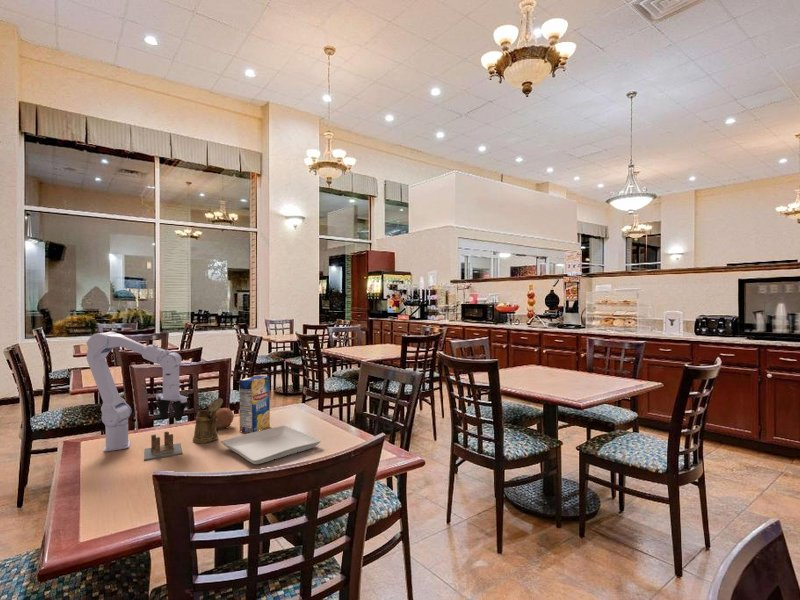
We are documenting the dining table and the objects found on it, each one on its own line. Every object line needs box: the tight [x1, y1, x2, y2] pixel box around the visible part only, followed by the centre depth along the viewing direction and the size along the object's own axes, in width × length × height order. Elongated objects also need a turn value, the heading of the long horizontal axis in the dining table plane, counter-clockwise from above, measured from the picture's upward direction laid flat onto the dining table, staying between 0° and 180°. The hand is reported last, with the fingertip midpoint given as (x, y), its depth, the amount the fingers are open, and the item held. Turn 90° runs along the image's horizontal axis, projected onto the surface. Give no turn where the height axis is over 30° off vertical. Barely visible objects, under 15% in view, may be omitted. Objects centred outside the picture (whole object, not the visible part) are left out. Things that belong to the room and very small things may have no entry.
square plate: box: [220, 425, 322, 465], centre depth 161 cm, size 27×27×4 cm
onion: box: [216, 407, 234, 430], centre depth 187 cm, size 10×9×10 cm
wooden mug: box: [192, 397, 224, 444], centre depth 170 cm, size 9×14×18 cm, turn 60°
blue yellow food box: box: [238, 375, 271, 434], centre depth 185 cm, size 7×11×22 cm, turn 157°
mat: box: [143, 442, 184, 461], centre depth 158 cm, size 12×12×1 cm
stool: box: [150, 431, 174, 455], centre depth 158 cm, size 6×6×6 cm
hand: (171, 419), depth 165 cm, fingers open, 7 cm apart
